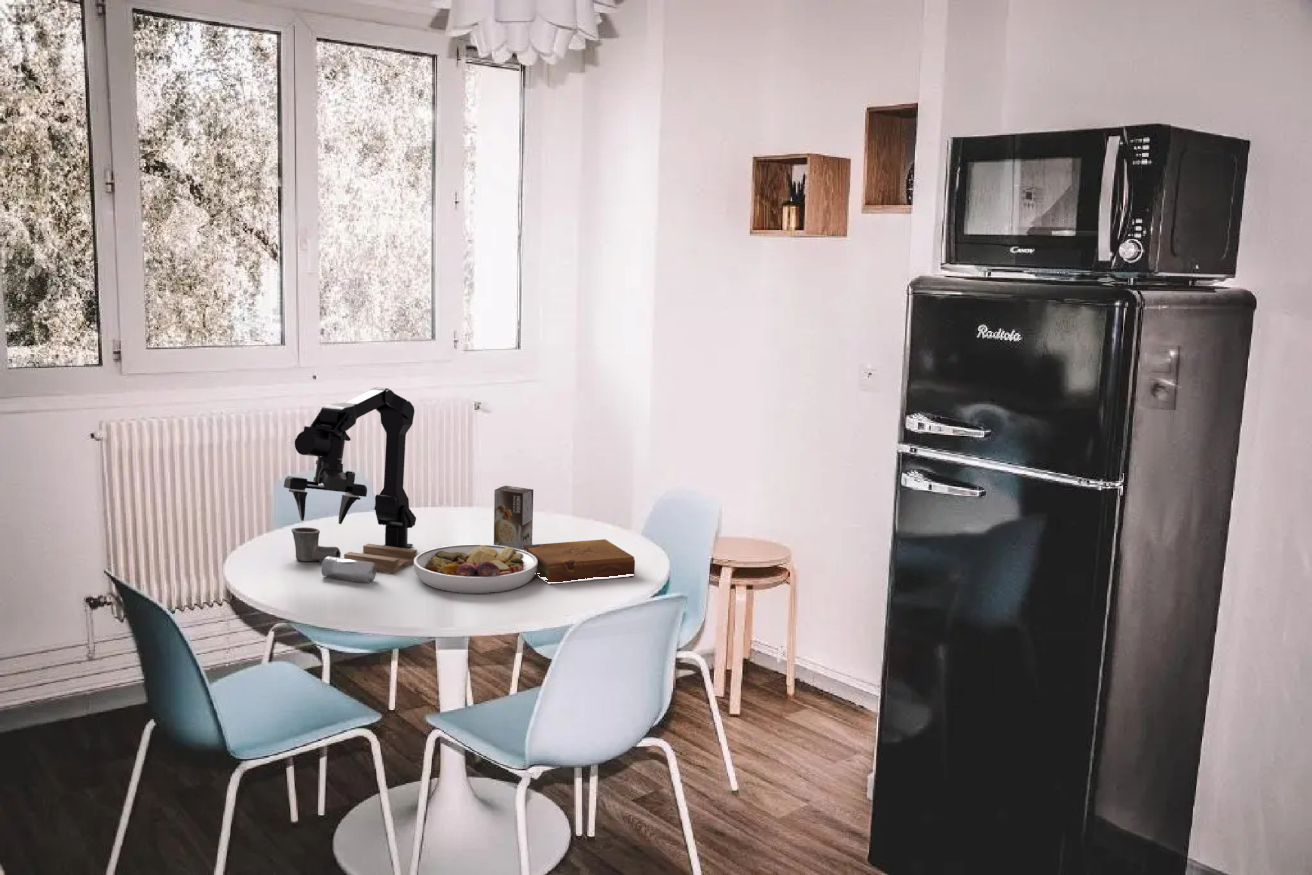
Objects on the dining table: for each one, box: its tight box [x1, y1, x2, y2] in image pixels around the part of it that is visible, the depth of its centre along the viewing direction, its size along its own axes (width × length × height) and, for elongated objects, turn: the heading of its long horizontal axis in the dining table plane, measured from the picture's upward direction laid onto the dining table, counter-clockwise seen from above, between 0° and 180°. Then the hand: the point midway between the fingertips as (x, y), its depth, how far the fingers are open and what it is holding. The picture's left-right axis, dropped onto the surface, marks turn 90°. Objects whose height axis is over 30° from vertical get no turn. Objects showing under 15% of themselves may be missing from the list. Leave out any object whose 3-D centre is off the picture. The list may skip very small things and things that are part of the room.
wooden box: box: [523, 538, 636, 582], centre depth 301 cm, size 23×19×6 cm
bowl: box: [413, 543, 538, 594], centre depth 290 cm, size 30×30×8 cm
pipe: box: [291, 526, 341, 563], centre depth 298 cm, size 6×13×8 cm, turn 78°
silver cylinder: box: [320, 556, 377, 584], centre depth 284 cm, size 5×12×5 cm, turn 73°
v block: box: [343, 543, 418, 575], centre depth 299 cm, size 13×14×3 cm
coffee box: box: [493, 485, 534, 551], centre depth 320 cm, size 9×6×16 cm
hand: (321, 522), depth 284 cm, fingers open, 9 cm apart
